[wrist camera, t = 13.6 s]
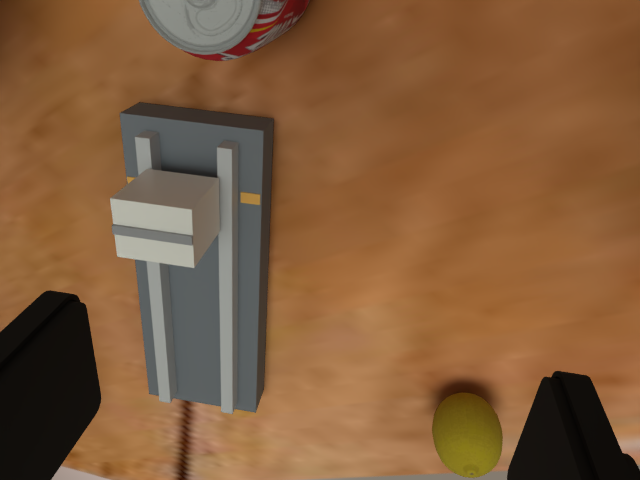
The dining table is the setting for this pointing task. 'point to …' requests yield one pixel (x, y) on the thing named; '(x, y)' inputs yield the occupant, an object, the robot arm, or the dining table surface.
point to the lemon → (467, 435)
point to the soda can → (222, 24)
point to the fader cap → (166, 217)
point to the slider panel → (207, 257)
